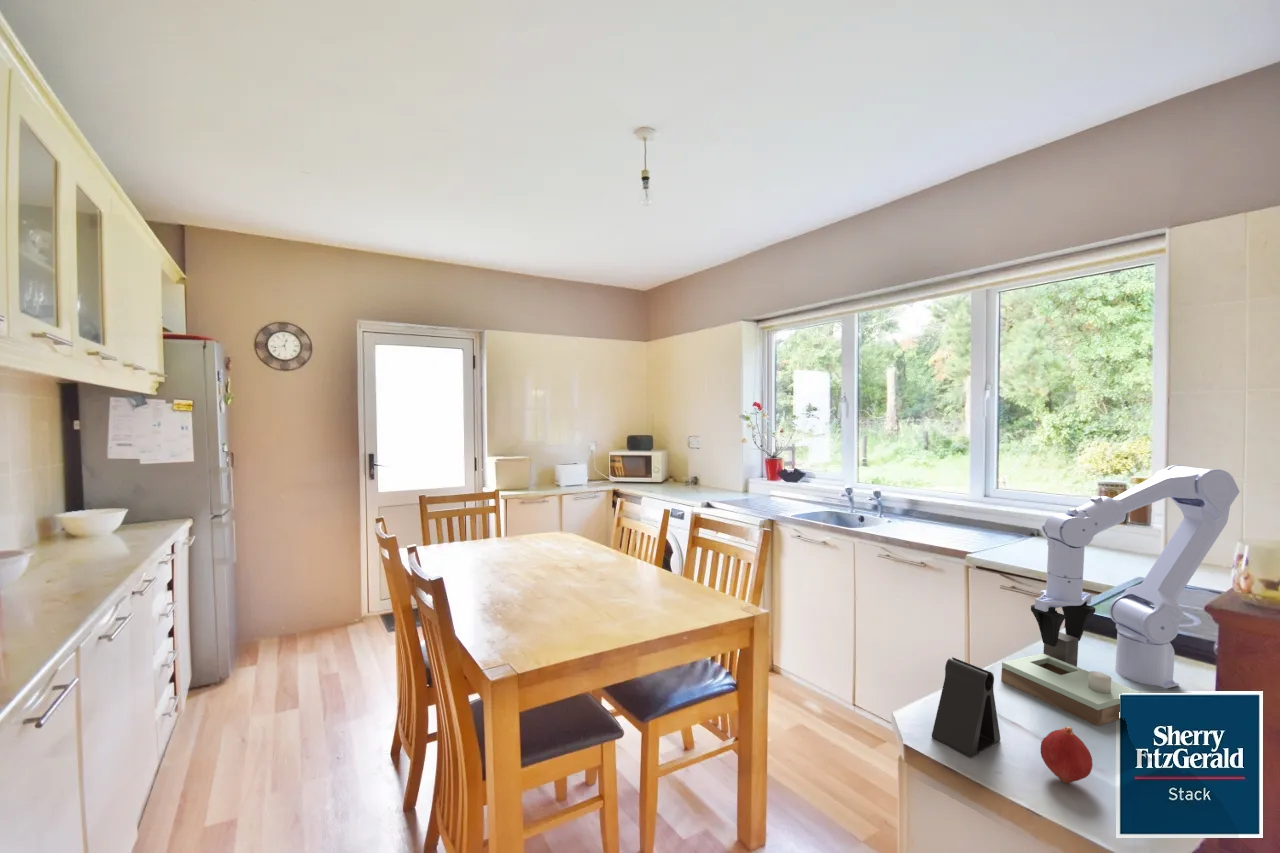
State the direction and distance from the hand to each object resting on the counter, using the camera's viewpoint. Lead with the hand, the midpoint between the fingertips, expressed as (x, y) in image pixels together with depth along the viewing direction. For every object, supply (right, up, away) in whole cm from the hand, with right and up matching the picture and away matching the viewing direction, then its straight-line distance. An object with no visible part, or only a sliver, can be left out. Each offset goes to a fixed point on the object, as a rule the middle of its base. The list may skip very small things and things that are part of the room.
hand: (1061, 641), depth 110 cm
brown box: (-7, -7, -10) cm, 14 cm away
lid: (-7, -3, -10) cm, 13 cm away
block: (0, -7, 0) cm, 7 cm away
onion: (-25, -7, -33) cm, 41 cm away
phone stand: (-33, -7, -23) cm, 41 cm away
